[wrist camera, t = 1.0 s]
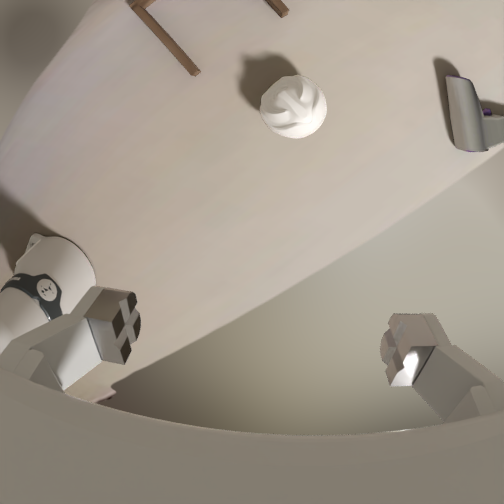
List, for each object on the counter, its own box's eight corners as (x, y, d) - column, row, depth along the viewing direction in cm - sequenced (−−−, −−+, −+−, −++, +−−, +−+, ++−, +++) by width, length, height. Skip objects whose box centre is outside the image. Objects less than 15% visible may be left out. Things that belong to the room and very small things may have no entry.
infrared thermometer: (509, 136, 37) (452, 152, 39) (497, 69, 31) (436, 76, 33) (526, 141, 33) (469, 159, 35) (515, 70, 27) (453, 75, 29)
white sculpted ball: (292, 67, 35) (298, 60, 28) (332, 107, 37) (347, 110, 30) (249, 107, 38) (245, 109, 31) (289, 146, 40) (295, 156, 33)
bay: (195, 76, 36) (191, 75, 34) (135, 9, 31) (128, 5, 28) (287, 14, 31) (289, 9, 29) (222, -52, 26) (220, -59, 24)
